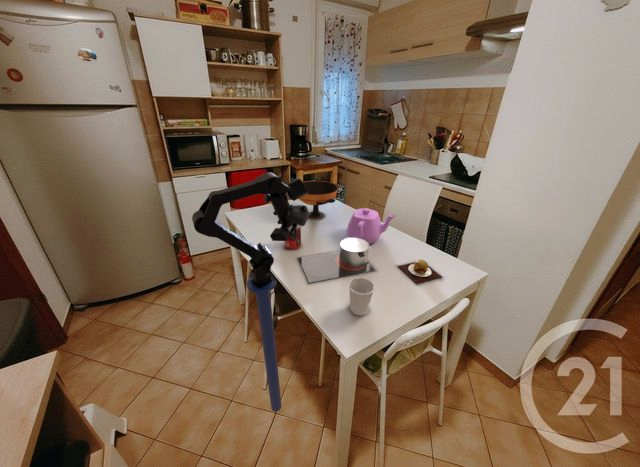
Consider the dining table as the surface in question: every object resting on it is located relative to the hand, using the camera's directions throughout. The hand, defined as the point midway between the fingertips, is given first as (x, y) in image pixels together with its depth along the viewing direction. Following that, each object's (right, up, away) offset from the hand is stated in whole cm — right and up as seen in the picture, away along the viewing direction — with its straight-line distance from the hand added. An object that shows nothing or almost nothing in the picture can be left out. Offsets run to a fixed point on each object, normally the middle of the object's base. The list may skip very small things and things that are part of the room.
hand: (295, 239), depth 103 cm
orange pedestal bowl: (+7, +13, +53) cm, 55 cm away
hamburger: (+50, -14, +4) cm, 52 cm away
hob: (+16, -11, +8) cm, 21 cm away
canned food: (-3, -4, +21) cm, 22 cm away
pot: (+24, -9, +10) cm, 28 cm away
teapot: (+32, 0, +30) cm, 44 cm away
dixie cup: (+23, -23, -15) cm, 36 cm away
